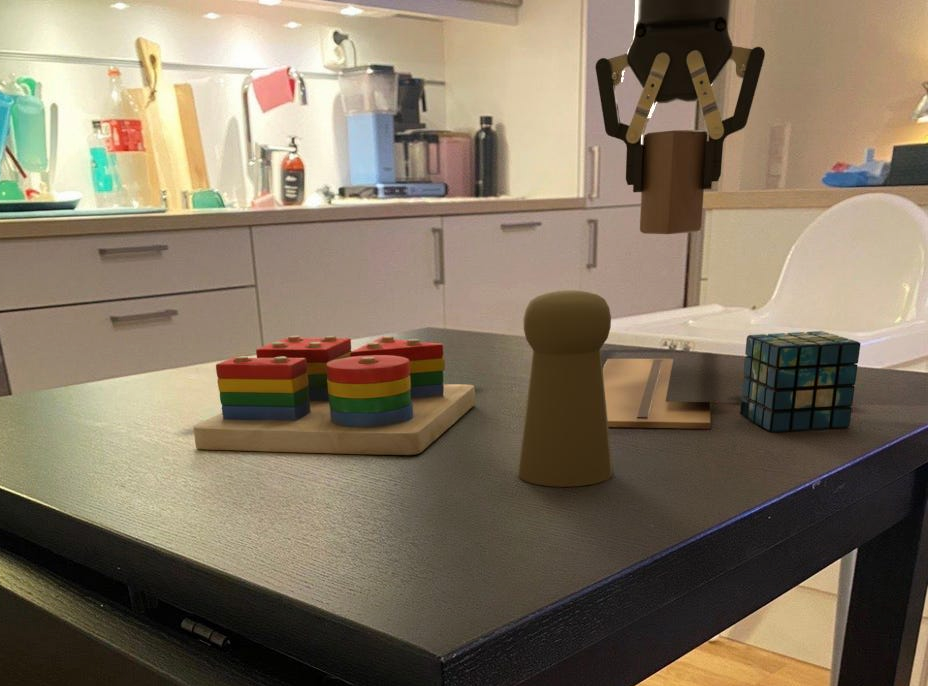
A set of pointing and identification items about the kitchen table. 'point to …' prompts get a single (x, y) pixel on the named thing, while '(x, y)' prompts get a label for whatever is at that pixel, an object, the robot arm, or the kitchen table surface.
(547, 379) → the pepper shaker
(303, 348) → the shape sorter
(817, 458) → the kitchen table surface
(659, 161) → the wooden block
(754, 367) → the puzzle
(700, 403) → the tan wooden flat board
